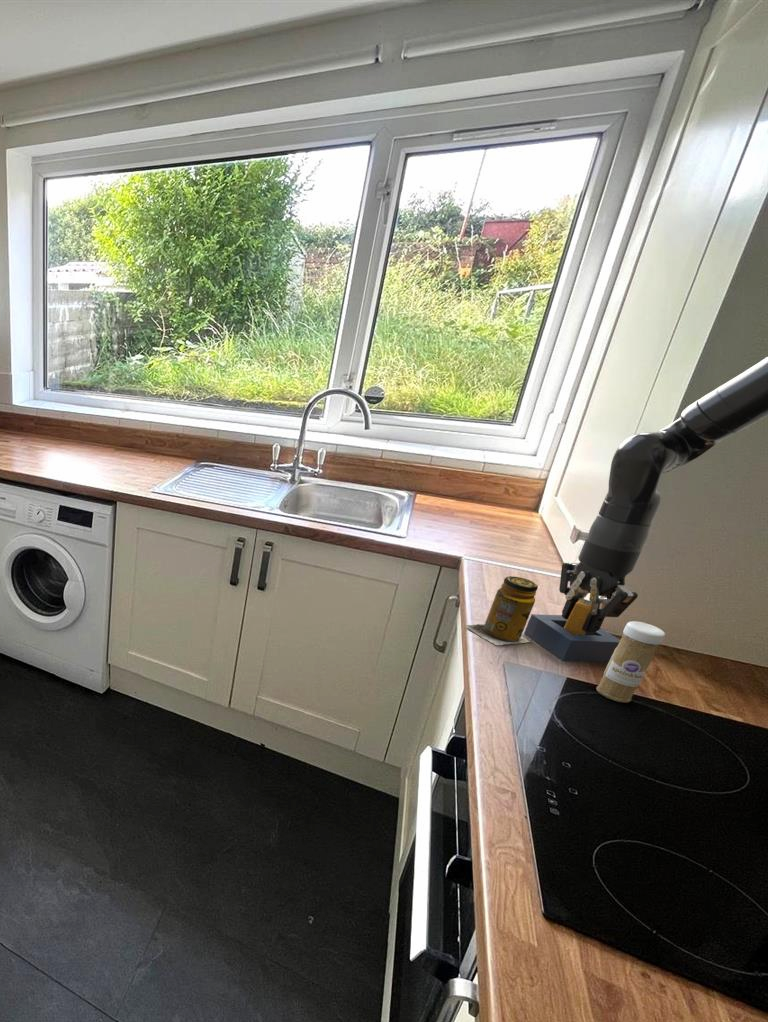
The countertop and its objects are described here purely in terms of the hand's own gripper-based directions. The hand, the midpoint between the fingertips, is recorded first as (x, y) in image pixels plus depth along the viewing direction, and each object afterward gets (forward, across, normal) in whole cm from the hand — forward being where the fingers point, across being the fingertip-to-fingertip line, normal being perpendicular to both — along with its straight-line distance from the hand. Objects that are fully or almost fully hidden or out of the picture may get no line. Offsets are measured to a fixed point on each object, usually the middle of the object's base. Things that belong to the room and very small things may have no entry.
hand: (578, 624), depth 111 cm
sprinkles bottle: (+5, -15, +4) cm, 17 cm away
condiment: (+5, +4, +11) cm, 13 cm away
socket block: (+5, 0, 0) cm, 5 cm away
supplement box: (+5, 0, 0) cm, 5 cm away
